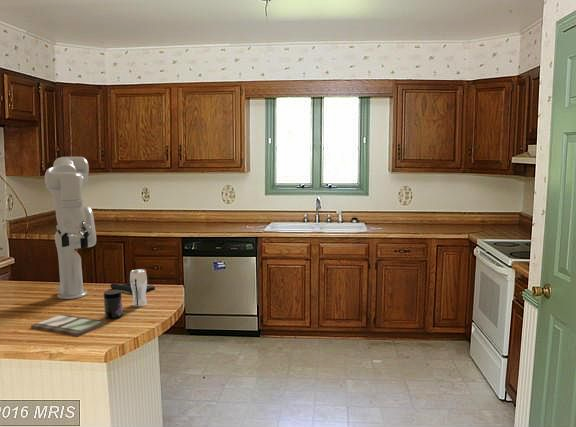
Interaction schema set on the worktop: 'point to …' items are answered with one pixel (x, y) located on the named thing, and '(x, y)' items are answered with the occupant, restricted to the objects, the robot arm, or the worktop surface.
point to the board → (69, 324)
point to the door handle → (128, 287)
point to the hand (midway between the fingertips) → (75, 247)
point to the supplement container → (113, 304)
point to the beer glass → (138, 287)
